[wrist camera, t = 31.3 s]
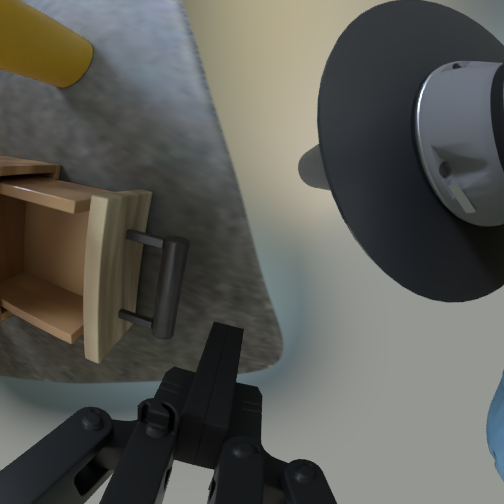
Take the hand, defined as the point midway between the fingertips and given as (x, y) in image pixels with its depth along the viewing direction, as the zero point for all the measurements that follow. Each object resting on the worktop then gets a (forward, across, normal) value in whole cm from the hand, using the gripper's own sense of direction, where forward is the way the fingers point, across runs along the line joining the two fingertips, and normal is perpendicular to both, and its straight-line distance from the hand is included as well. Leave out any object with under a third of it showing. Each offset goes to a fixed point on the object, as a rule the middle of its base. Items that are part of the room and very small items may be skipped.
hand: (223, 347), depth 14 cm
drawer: (+8, -12, 0) cm, 15 cm away
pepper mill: (+9, -20, +16) cm, 27 cm away
